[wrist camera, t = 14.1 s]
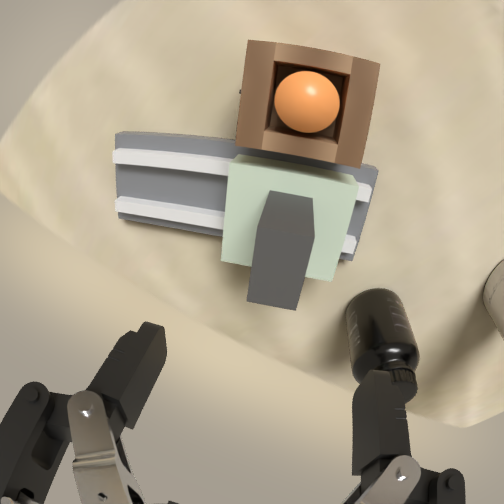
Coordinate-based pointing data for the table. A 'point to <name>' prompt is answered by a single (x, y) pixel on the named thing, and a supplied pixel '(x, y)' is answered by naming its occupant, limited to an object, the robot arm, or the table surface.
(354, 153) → the cabinet
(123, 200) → the track
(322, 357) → the table surface
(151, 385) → the robot arm
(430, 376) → the table surface
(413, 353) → the supplement bottle
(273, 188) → the carriage
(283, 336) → the table surface
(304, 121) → the button
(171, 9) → the table surface
